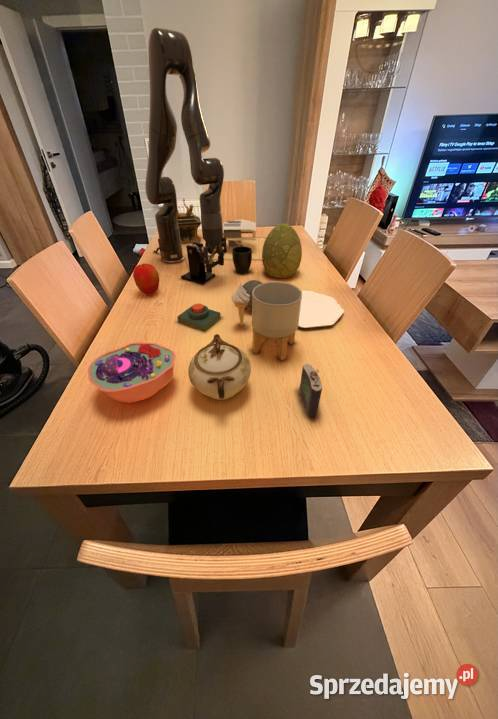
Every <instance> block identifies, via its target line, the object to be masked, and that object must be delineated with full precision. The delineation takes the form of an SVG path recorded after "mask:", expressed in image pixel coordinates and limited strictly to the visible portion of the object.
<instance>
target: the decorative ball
mask: <svg viewBox="0 0 498 719" xmlns="http://www.w3.org/2000/svg"><path fill="white" fill-rule="evenodd" d="M262 283H263V282H262V281H260V280H257V279H252V280H251V279H250V280H247V281H246V282H245V283H244V284H242V286H243V288H244V289H245V290H246V291H247V292H246V293H247V294H249V295H250V297H249V299H250V300H249V302H248V305H247V306H246V307H245V309H246V308H247V309H249V310H252V291H253V289H254V288H255V287H256V286H258V285H259V284H262Z"/></svg>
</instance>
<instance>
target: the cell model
mask: <svg viewBox="0 0 498 719" xmlns="http://www.w3.org/2000/svg"><path fill="white" fill-rule="evenodd" d="M175 360H176V352H174V350H172V349H170V348H168V347H166V346H164V345H160V344H158V343H155V342H144V341H143V342H141V341H140V342H139V341H137V342H131V343H127V344H126V345H124V346H123V345H122V346H121V347H119V348H116V349H113V350H110V351H107V352H105V353H103V354H101V355H100V356H98V357H96V358H95V359H94V360H93V361H92V362H91V363H90V365H89V366H88V368H87V378H88V381H89V383H90V384H92V385H94V386H95V387H97V389H98V390H100V391H101V392H102V393H103V394H105V395H106V396H108V397H110V398H111V399H112V400H114V401H117V402H123V403H128V404H129V403H130V404H131V403H136V402H140V401H143V400H146V399H147V400H148V399H149V398H151V397H153V396H154V395H155V394H156V393H158V392H160V391H161V390H162V389H163V388H164V387H166V386H167V385H168V384H169V383H170V382H171V381H172V380H173V377H174V369H175Z"/></svg>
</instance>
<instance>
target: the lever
mask: <svg viewBox="0 0 498 719" xmlns="http://www.w3.org/2000/svg"><path fill="white" fill-rule="evenodd" d="M191 246H195V247H197V253H198V254H199V255H200V247H198V246H197V245H196V244H193V243H192V245H191ZM200 256H201V255H200ZM204 260H205V258H204ZM208 260H209V257H208ZM211 264H212V269H213V268H215V267H216V266H218V265H219V264H220V261H219V260H218V259H216V260H214V259H212V262H211Z"/></svg>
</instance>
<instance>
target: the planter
mask: <svg viewBox="0 0 498 719" xmlns="http://www.w3.org/2000/svg"><path fill="white" fill-rule="evenodd" d="M301 291H302V290H301V288H299V287H298V286H296V285H294V284H292V283H291V282H290V283H289V282H284V281H266V282H262V284H259V285H258V286H256V287H255V288H254V289H253V291H252V309H251V326H252V352H253V353H254V354H257V353H259V351H260V347H261V346H262V344H263V342H265V341H266V340H267V339H275V342H276V344H277V348H278V355H279V356H278V358H279V360H280V361H285V360H287V350H288V343H289V345H293V344H295V339H296V338H295V337H296V332H297V331H298V330H299V327H298V324H299V316H300V308H301V300H302V292H301Z"/></svg>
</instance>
